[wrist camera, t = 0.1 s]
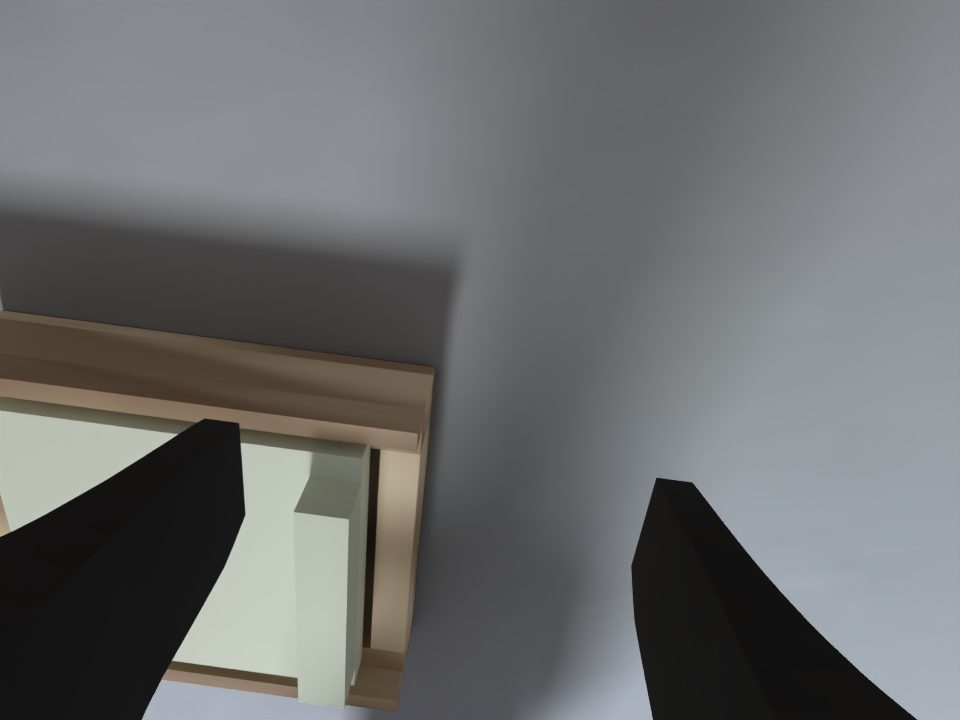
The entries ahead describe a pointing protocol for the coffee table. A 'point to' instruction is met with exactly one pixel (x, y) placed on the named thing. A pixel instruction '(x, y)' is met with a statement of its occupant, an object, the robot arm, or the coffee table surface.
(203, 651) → the cover plate
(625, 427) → the coffee table surface
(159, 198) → the coffee table surface
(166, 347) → the box
